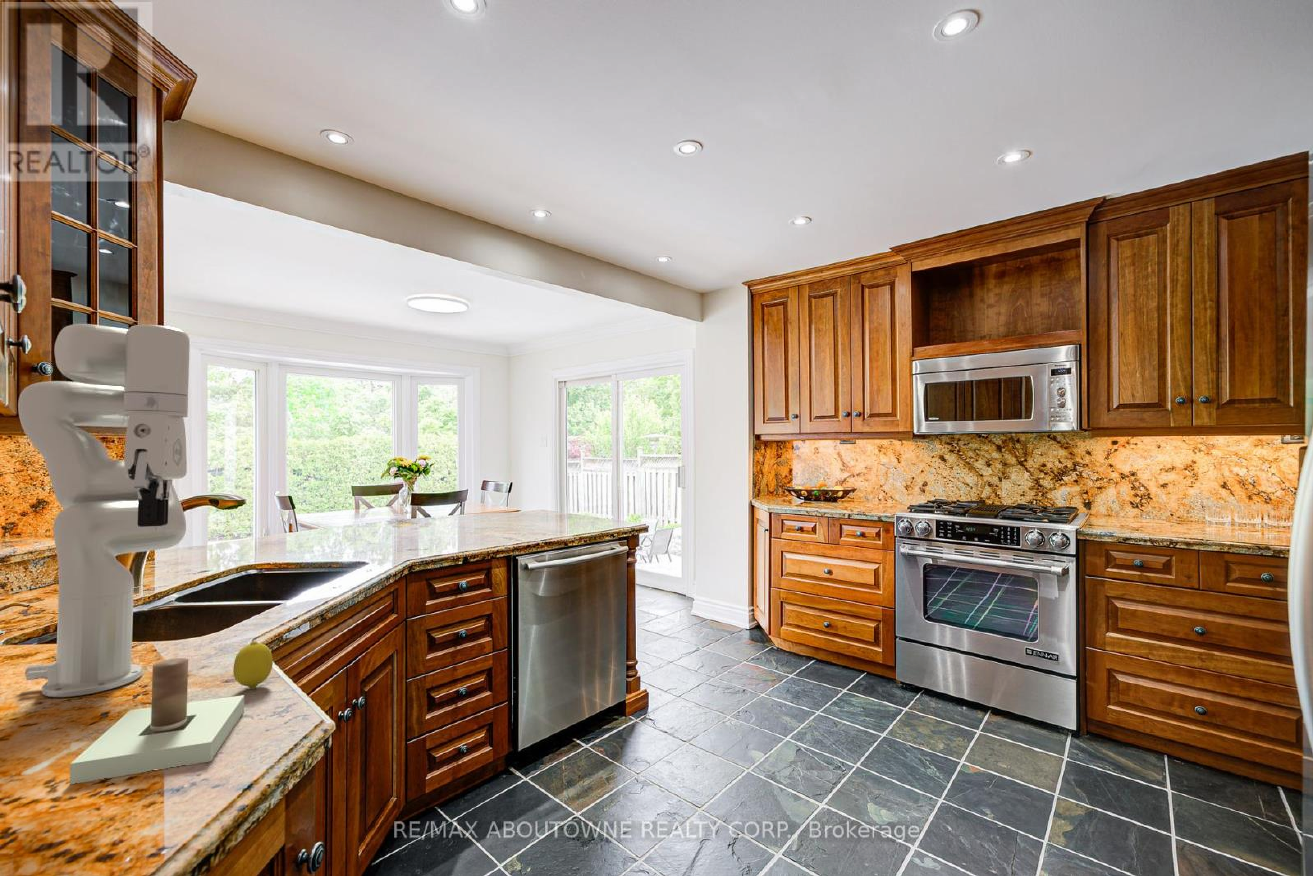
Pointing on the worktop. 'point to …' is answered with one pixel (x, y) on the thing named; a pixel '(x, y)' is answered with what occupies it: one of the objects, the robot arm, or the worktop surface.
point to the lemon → (253, 664)
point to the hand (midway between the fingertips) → (152, 525)
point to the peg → (169, 695)
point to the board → (158, 741)
